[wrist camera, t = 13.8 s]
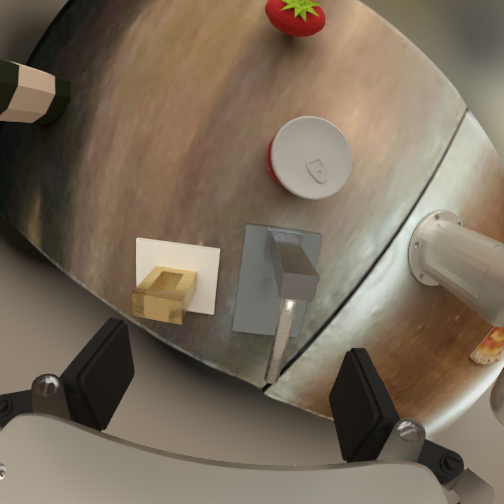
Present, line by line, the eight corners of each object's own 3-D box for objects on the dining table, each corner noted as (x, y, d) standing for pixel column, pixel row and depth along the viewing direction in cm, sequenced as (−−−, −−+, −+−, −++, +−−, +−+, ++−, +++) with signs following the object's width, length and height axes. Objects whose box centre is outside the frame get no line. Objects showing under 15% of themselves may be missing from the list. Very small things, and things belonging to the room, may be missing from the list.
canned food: (293, 202, 35) (310, 217, 25) (251, 156, 33) (252, 151, 23) (335, 165, 34) (369, 166, 23) (296, 119, 32) (315, 99, 21)
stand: (320, 233, 36) (358, 272, 23) (296, 333, 41) (313, 400, 27) (246, 222, 36) (243, 257, 22) (232, 326, 41) (225, 394, 27)
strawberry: (273, 9, 27) (279, -30, 17) (322, 29, 28) (342, -5, 18) (255, 36, 28) (257, -2, 19) (306, 57, 29) (324, 25, 20)
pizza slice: (526, 317, 44) (530, 320, 42) (479, 376, 49) (482, 380, 47) (520, 286, 40) (525, 289, 39) (468, 354, 45) (472, 359, 43)
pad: (220, 248, 37) (220, 249, 36) (214, 312, 40) (213, 314, 39) (138, 237, 36) (136, 238, 36) (138, 300, 39) (137, 301, 39)
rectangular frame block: (196, 271, 37) (182, 301, 29) (195, 291, 38) (181, 324, 30) (155, 265, 37) (131, 292, 28) (155, 284, 38) (133, 315, 29)
